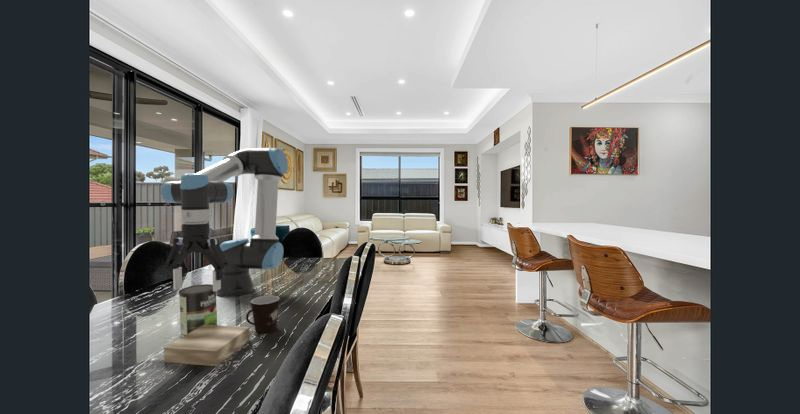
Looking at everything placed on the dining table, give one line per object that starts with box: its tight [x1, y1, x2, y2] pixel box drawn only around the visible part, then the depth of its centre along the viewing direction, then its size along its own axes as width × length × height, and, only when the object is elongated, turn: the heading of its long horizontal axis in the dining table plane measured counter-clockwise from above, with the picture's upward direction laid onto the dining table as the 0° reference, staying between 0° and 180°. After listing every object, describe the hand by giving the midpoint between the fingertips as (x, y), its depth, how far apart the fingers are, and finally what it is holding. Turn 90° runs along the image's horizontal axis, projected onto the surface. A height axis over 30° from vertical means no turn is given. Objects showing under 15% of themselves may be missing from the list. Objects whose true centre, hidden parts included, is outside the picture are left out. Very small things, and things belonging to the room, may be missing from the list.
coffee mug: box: [245, 294, 280, 335], centre depth 107 cm, size 12×9×10 cm
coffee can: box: [178, 283, 218, 338], centre depth 106 cm, size 10×10×14 cm
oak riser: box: [163, 324, 251, 367], centre depth 94 cm, size 15×15×4 cm
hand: (197, 289), depth 106 cm, fingers open, 13 cm apart
